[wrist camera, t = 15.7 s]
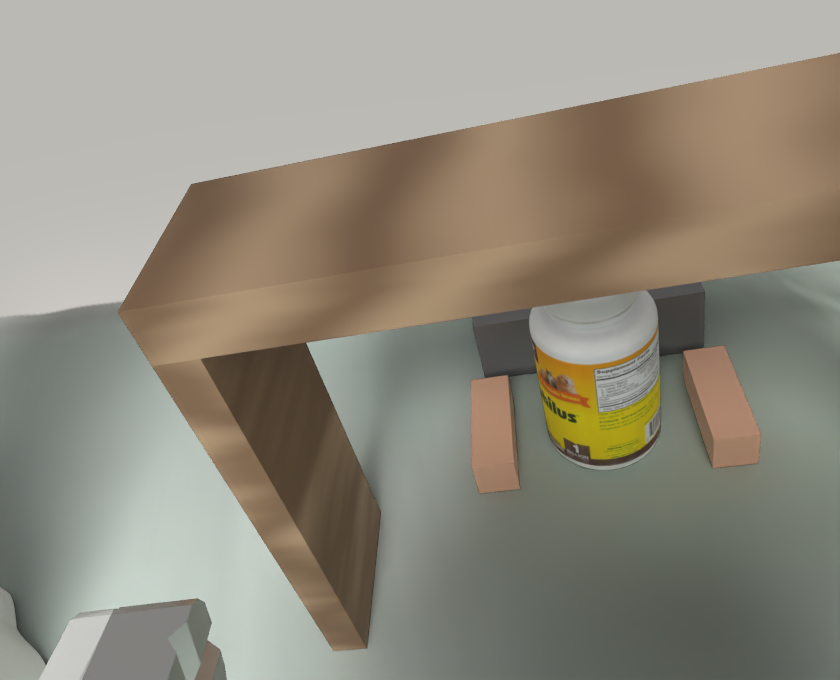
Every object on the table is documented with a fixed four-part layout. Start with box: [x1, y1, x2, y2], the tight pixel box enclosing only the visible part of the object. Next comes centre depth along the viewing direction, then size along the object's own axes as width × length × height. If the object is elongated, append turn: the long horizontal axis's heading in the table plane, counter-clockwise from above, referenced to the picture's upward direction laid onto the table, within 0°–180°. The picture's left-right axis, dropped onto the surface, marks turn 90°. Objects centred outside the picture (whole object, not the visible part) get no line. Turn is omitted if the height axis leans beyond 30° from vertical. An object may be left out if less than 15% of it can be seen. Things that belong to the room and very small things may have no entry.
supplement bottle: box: [529, 290, 661, 470], centre depth 34 cm, size 6×6×10 cm
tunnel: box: [118, 53, 840, 651], centre depth 26 cm, size 26×7×19 cm, turn 87°
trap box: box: [473, 282, 705, 378], centre depth 42 cm, size 12×7×4 cm, turn 87°
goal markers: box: [471, 345, 761, 493], centre depth 36 cm, size 13×6×2 cm, turn 87°
